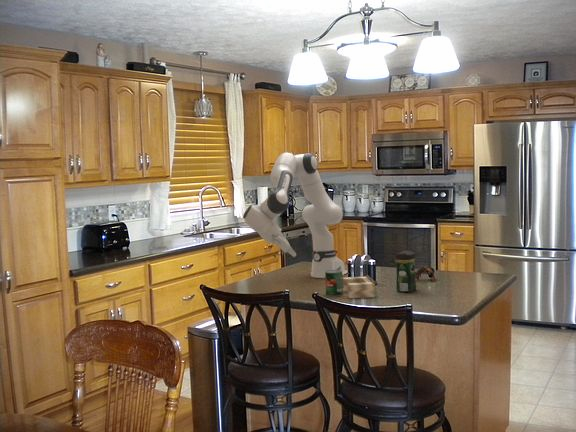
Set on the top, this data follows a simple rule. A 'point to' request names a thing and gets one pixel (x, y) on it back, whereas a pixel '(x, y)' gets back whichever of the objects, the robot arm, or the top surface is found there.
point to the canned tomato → (334, 283)
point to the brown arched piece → (423, 270)
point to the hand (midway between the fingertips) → (294, 254)
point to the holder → (359, 287)
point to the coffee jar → (405, 271)
